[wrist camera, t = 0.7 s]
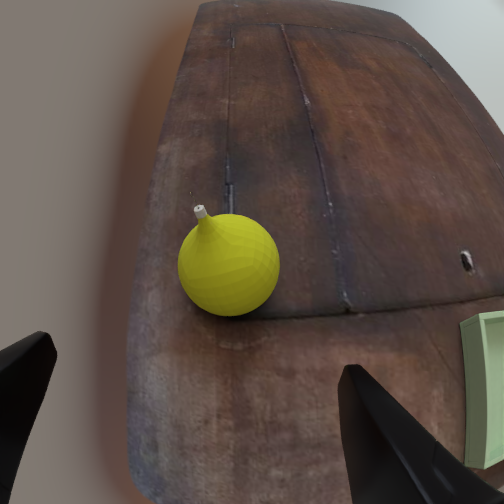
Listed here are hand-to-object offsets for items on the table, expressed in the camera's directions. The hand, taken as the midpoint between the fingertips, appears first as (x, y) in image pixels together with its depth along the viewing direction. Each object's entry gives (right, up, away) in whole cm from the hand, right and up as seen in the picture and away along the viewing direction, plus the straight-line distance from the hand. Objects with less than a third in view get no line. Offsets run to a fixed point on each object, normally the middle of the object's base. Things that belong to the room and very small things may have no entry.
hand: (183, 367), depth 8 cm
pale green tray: (+33, -10, +12) cm, 36 cm away
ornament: (0, +1, +17) cm, 17 cm away
